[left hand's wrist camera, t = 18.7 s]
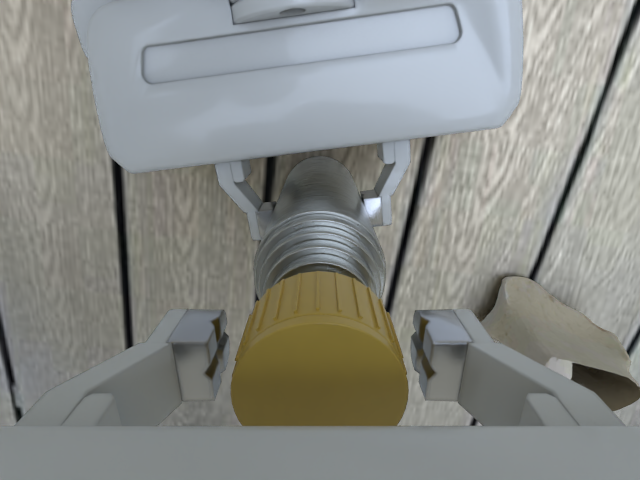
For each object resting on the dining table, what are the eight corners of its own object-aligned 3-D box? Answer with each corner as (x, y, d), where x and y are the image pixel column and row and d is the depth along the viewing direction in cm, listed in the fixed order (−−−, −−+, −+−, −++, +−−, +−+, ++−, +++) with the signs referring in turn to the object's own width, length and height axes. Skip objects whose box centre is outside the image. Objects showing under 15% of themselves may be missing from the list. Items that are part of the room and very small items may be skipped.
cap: (316, 410, 11) (315, 486, 9) (218, 328, 10) (189, 393, 8) (420, 336, 10) (448, 402, 8) (323, 238, 9) (325, 282, 7)
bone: (465, 310, 32) (481, 428, 24) (508, 249, 27) (544, 375, 19) (567, 335, 31) (614, 462, 24) (630, 278, 26) (714, 417, 19)
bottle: (270, 194, 26) (169, 388, 9) (317, 140, 25) (309, 241, 7) (322, 238, 27) (326, 485, 10) (369, 189, 26) (471, 375, 8)
